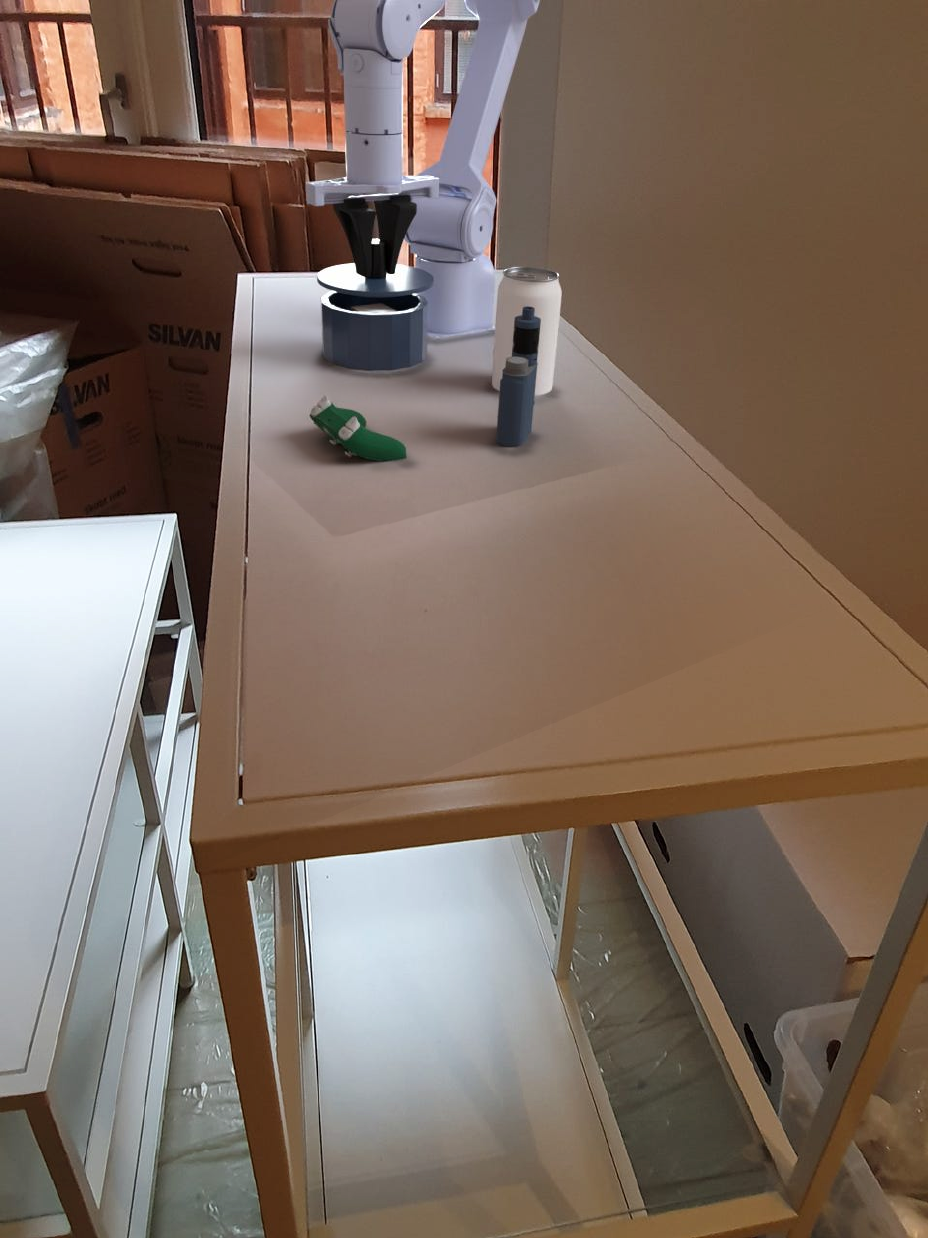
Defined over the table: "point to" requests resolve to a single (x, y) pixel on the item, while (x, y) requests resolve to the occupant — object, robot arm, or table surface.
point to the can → (545, 297)
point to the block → (373, 308)
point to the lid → (376, 277)
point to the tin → (374, 332)
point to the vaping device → (519, 382)
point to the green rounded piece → (355, 433)
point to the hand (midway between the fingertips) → (375, 273)
